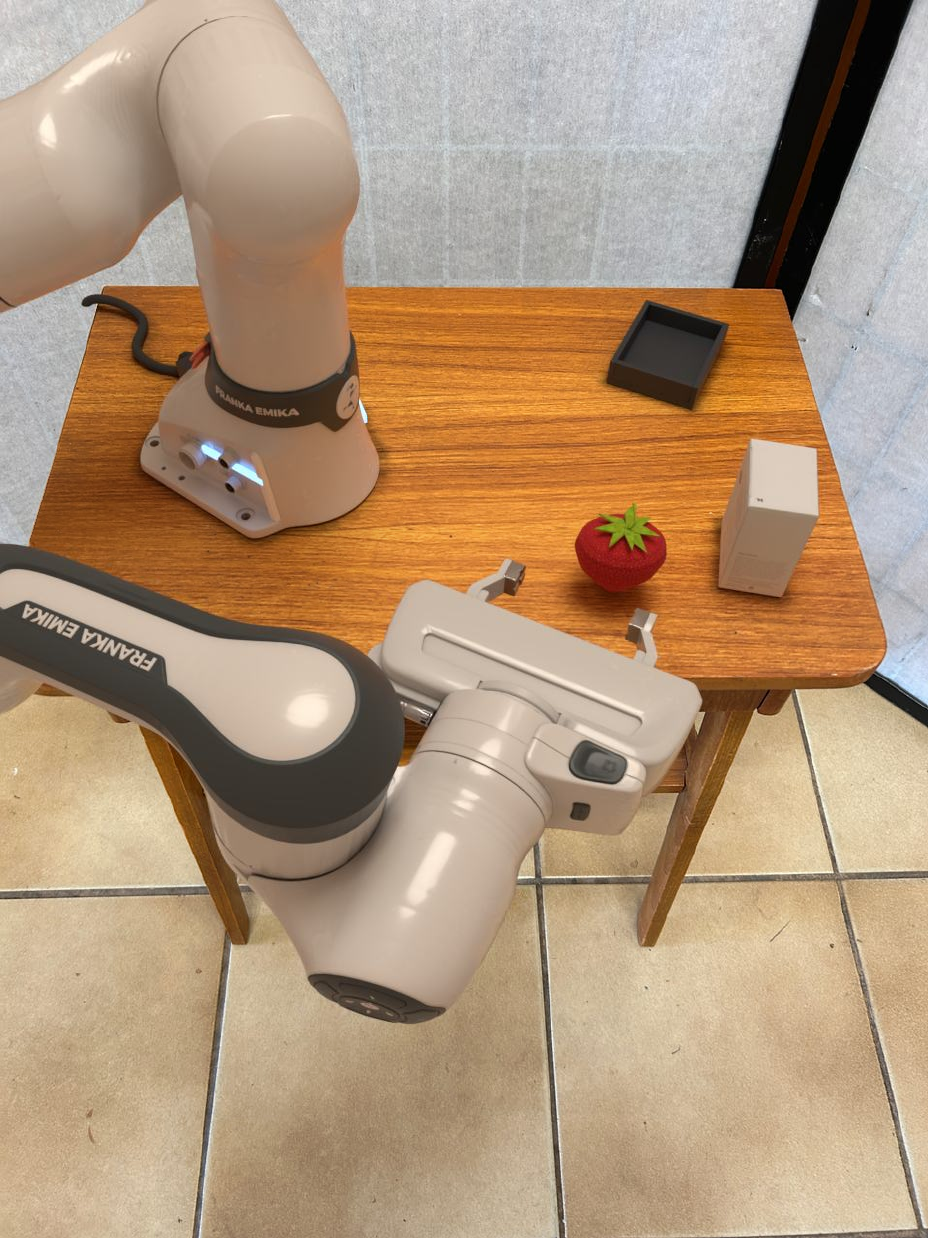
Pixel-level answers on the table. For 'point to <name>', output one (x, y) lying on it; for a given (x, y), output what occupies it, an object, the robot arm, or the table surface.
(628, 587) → the strawberry
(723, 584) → the small box
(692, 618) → the table surface
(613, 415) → the table surface
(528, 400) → the table surface
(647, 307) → the tray
